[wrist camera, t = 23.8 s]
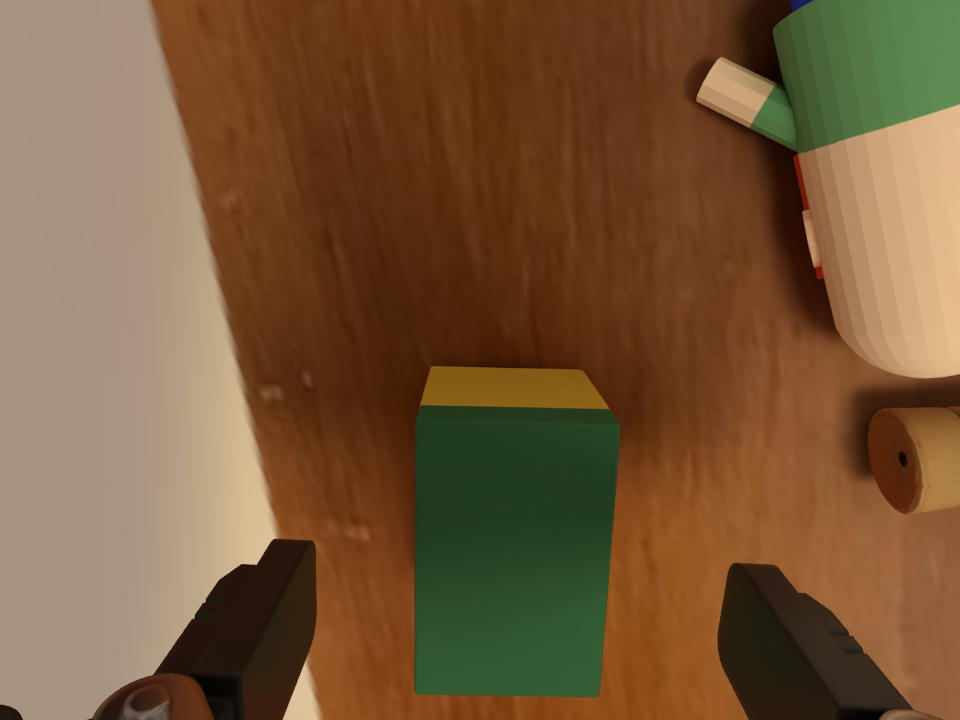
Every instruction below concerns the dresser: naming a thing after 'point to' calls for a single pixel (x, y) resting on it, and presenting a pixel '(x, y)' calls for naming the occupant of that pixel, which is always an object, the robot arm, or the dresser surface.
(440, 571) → the sponge
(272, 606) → the robot arm
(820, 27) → the toy figurine
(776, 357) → the dresser surface
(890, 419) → the kendama
